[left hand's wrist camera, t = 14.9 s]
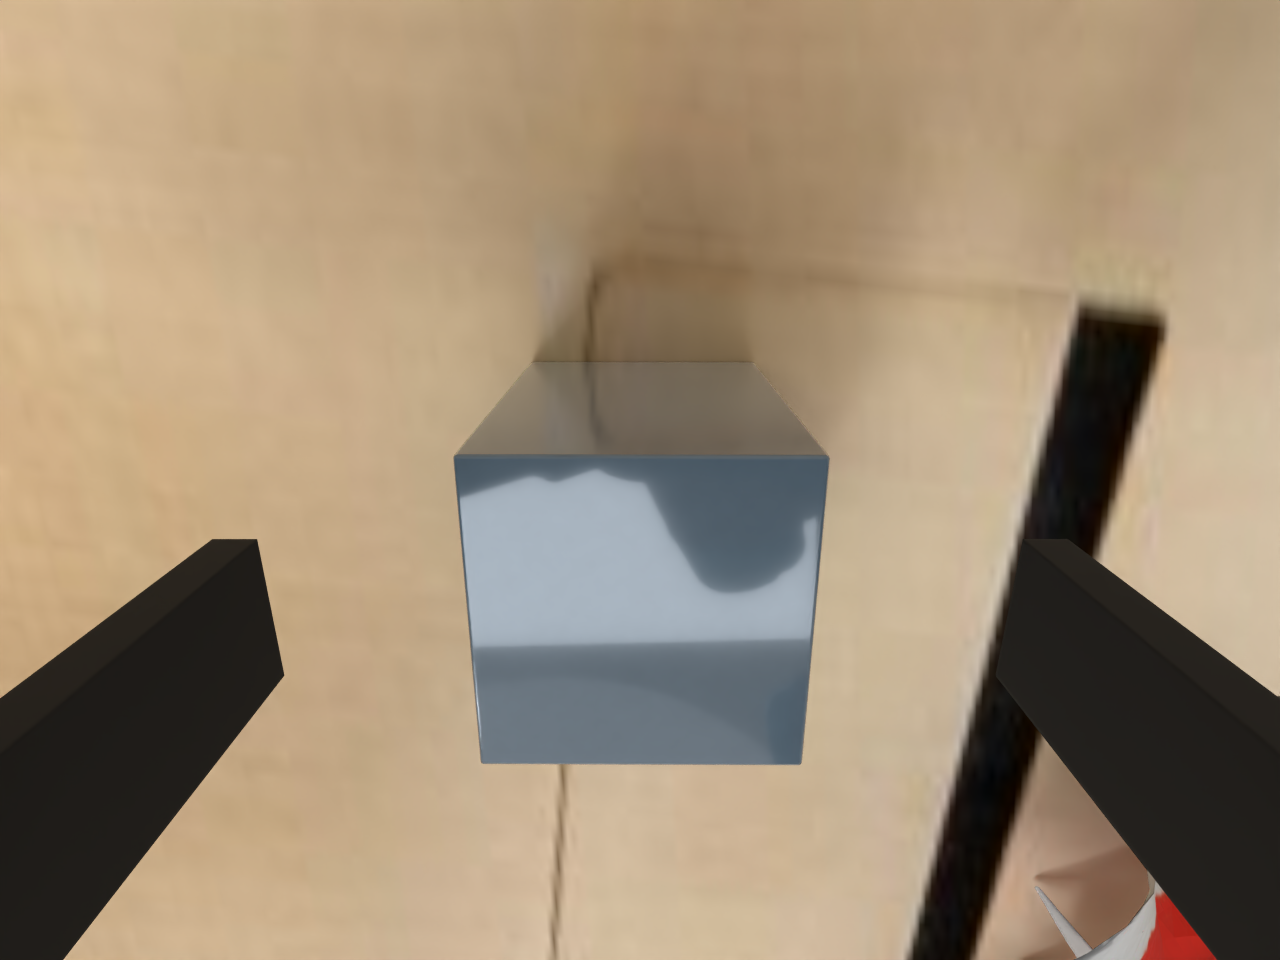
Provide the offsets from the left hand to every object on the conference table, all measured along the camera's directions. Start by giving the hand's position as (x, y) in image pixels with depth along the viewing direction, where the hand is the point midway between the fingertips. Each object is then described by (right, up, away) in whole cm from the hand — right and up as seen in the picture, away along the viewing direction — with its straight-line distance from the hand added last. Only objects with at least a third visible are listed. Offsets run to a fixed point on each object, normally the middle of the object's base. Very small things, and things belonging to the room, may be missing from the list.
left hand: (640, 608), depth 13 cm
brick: (0, +3, +8) cm, 8 cm away
